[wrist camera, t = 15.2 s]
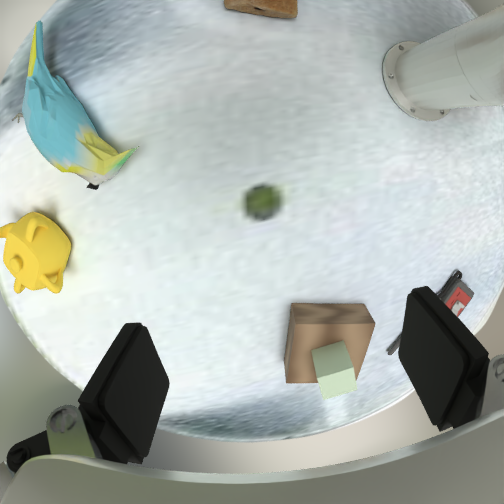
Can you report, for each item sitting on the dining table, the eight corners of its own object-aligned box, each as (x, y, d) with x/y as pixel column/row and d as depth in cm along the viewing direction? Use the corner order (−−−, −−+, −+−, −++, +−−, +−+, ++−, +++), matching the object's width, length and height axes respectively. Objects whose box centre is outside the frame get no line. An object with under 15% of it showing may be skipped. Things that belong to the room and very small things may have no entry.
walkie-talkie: (449, 262, 41) (382, 348, 48) (463, 272, 37) (390, 363, 43) (471, 282, 42) (409, 360, 49) (484, 293, 38) (417, 374, 45)
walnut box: (363, 302, 44) (375, 323, 38) (348, 358, 48) (356, 380, 43) (291, 301, 44) (295, 324, 38) (283, 359, 48) (286, 383, 43)
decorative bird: (93, 209, 39) (59, 226, 30) (14, 89, 31) (-21, 88, 22) (154, 146, 36) (126, 148, 27) (61, 29, 27) (28, 16, 19)
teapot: (34, 276, 44) (3, 301, 34) (17, 212, 39) (-20, 229, 29) (85, 274, 43) (52, 304, 33) (67, 201, 38) (26, 219, 29)
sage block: (343, 340, 39) (353, 367, 34) (348, 363, 41) (357, 389, 35) (311, 350, 40) (317, 378, 34) (317, 372, 42) (323, 399, 36)
